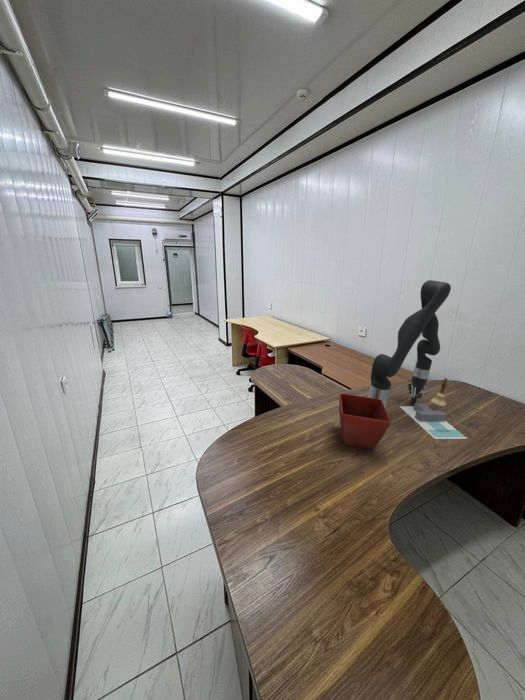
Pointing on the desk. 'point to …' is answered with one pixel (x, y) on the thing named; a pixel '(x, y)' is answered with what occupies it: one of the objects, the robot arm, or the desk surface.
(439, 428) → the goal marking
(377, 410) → the plant pot
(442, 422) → the runner mat
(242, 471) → the desk surface
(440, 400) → the hand bell
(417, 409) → the t block
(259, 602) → the desk surface
